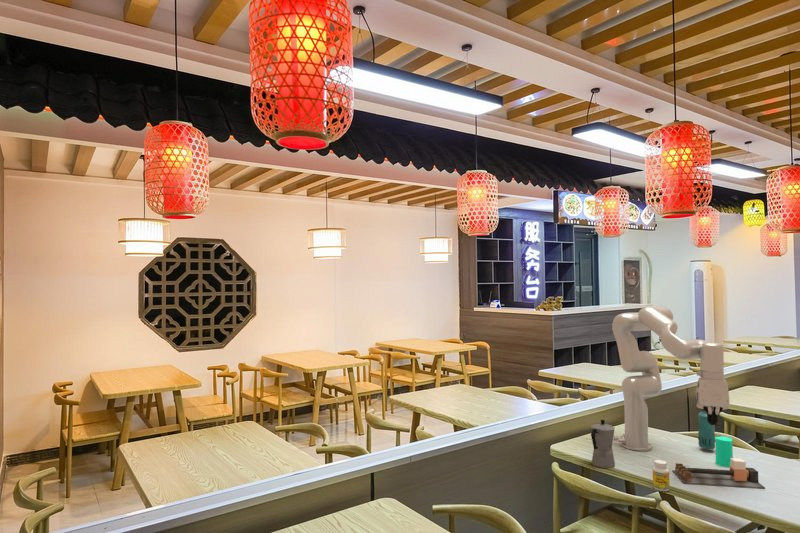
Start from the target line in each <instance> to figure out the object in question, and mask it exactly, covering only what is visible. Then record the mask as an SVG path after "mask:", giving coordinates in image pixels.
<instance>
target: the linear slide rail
mask: <svg viewBox="0 0 800 533" xmlns="http://www.w3.org/2000/svg"><path fill="white" fill-rule="evenodd" d="M746 470H747V481H735V480H734V479H732V478H731V477H730V475H734V470H730V469H717V468H716V469H714V468H702V467H701V468H698V467H697V468H696V467H686V466H685V465H684V464H683V463H680V462H679V463H678V462H677V463H675V467H674V469H672V473H673V474H674V476H676V477H677V478H678V479H679V481H680V482H681V483H682V484H683V485H694V486H695V485H696V486H698V485H699V486H710V487H712V486H714V487H725V488H727V487H728V488H740V489H741V488H742V489H743V488H744V489H757V490H759V489H760V490H766V487H765V486H764V485H762V483H760V482H759V471H758V470H756V469H755V468H754V467H746Z"/></svg>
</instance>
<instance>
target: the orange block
mask: <svg viewBox="0 0 800 533" xmlns="http://www.w3.org/2000/svg"><path fill="white" fill-rule="evenodd" d="M730 464H731V465H730V467H729V470H734V475H730V477H731V478H732V479H734V480H735V481H747V470H746V468H747V467H746V466H747V464H746V460H743V458H738V457H733V458H730Z"/></svg>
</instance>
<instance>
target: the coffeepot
mask: <svg viewBox="0 0 800 533" xmlns="http://www.w3.org/2000/svg"><path fill="white" fill-rule="evenodd" d="M605 422H606V420H605V419H600V423H595V424H591V426H590V429H591V433H590V437H591V442H592V446H593V451H592V459H591V464H592V465H593V466H595V467H598V468H601V469H612V468H614V467H615V464H616V462H615V457H614V456H615V455H614V450H613V443H614V442H613V441H614V436H615V428H616V427H614V426H612V424H608V423H607V424H605Z"/></svg>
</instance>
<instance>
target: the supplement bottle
mask: <svg viewBox="0 0 800 533" xmlns="http://www.w3.org/2000/svg"><path fill="white" fill-rule="evenodd" d="M653 463H654V466H653V467H652V487H653V489H654V490H656V491H660V492H668V491H670V488H671V487H670V486H671V485H670V483H671V482H670V469H669V468H668V464H667V463H668V462H667V461H665V460H662V459H655V460H654V462H653Z"/></svg>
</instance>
